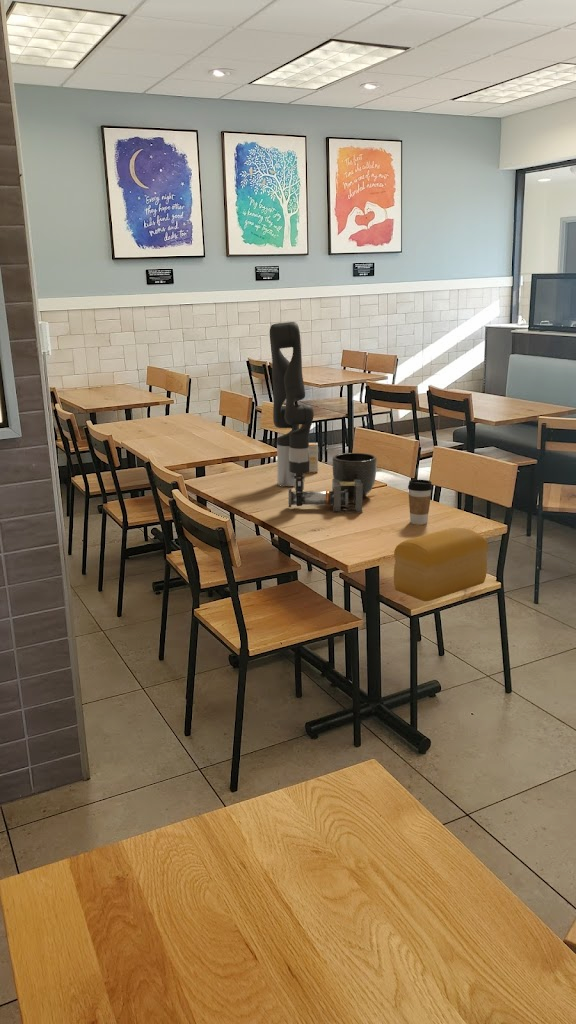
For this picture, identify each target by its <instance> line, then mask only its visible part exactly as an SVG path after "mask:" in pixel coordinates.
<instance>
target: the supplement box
mask: <svg viewBox="0 0 576 1024" xmlns="http://www.w3.org/2000/svg"><path fill="white" fill-rule="evenodd" d="M318 445H319V444H318V442H309V472H318V471H319V446H318Z"/></svg>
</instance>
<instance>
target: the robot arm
mask: <svg viewBox="0 0 576 1024" xmlns="http://www.w3.org/2000/svg"><path fill="white" fill-rule="evenodd" d="M269 341H270V343H269V344H270V351H271V359H272V360H271V362H272V363H271V377H272V380H271V381H272V393H273V406H272V407H273V408H272V409H273V411H272V414H273V415H272V418H273V425H274V426H275V428H278V429H291V430H290V431H289V432H287V433H286V434H283V435H280V436H278V437H277V439H276V446H277V447H276V450H277V453H276V457H277V459H276V460H277V461H276V462H277V469H276V470H277V486H279V485H281V486H280V487H283V486H293V487H294V490H295V491H296V505H295V506H297V507H302V506H303V505H302V496H303V491H304V490H305V482H306V481H305V479H306V477H305V476H306V475H303V474H309V473H308V472H309V443H310V439H309V438H310V433H311V427H312V423H313V420H314V415H315V413H314V410H313V408H312V406H311V405H309V404H295V402H299V401H301V400H304V399H305V398H306V389H305V384H304V377H303V364H302V363H303V361H302V360H303V358H302V342H301V332H300V327H299V325H298V323H297V322H295V321H287V322H278V323H273V324H271V325H270V328H269ZM288 348H292V356H291V359H290V361H289V360H288V359H287V358H286V357H285V355H284V354H283V353H282V351H281V350H282V349H288ZM284 403H285V405H283V404H284ZM300 425H301V426H300ZM297 491H301V492H297Z"/></svg>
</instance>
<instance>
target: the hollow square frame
mask: <svg viewBox="0 0 576 1024" xmlns="http://www.w3.org/2000/svg"><path fill="white" fill-rule="evenodd" d="M331 483H332V484H331V486H332V489H331V491H334V505H331V506H332V507H333V514H363V498H362V497H363V486H362V483H361V480H360V479H354V482H339V479H333V478H332V482H331ZM341 486H353V499H352V501H351V502H349V501H348V507H355V508H345V509H344V508H341V507H345V505H341Z"/></svg>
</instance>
